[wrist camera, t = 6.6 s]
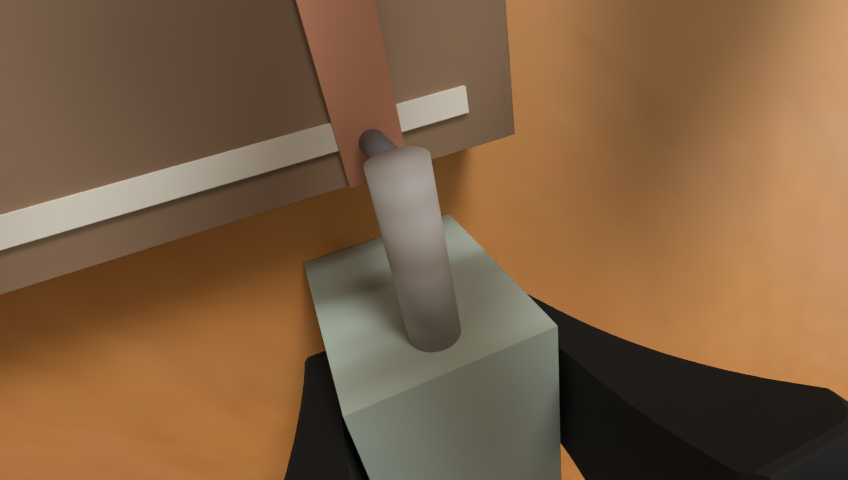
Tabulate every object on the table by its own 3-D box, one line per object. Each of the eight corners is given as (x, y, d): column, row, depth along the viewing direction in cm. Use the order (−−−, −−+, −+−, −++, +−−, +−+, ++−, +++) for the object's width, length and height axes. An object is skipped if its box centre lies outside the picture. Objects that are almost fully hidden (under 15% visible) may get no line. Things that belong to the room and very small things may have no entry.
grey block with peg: (353, 392, 14) (403, 559, 10) (250, 126, 10) (263, 230, 5) (470, 344, 15) (561, 479, 11) (426, 79, 10) (553, 136, 6)
